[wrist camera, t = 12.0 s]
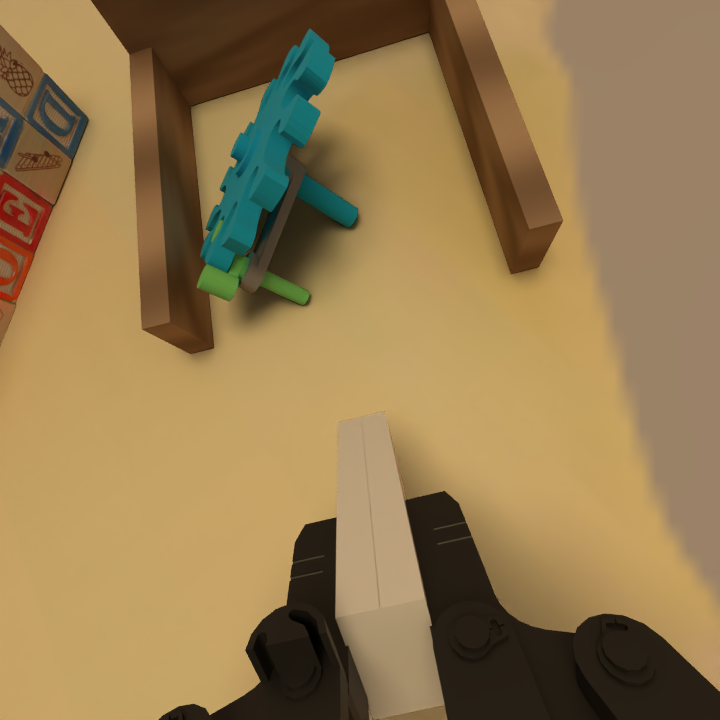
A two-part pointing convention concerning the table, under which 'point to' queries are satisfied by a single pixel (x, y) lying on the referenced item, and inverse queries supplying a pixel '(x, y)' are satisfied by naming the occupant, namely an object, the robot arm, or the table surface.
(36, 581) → the table surface
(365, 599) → the robot arm
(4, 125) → the stack of blocks
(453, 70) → the wooden u-shaped enclosure
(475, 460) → the table surface
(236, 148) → the gear
